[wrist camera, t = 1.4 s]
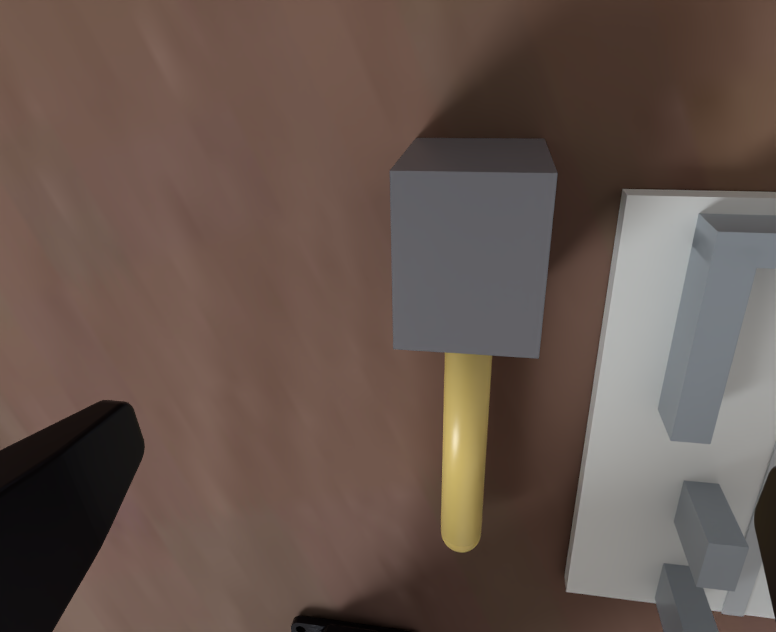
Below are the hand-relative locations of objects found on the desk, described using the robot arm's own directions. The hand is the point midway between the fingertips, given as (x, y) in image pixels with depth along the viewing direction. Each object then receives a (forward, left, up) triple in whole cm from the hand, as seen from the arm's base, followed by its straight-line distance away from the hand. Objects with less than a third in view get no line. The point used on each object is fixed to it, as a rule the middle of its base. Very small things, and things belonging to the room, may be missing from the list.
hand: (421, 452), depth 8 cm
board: (-8, -11, -13) cm, 19 cm away
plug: (-6, 0, -13) cm, 14 cm away
